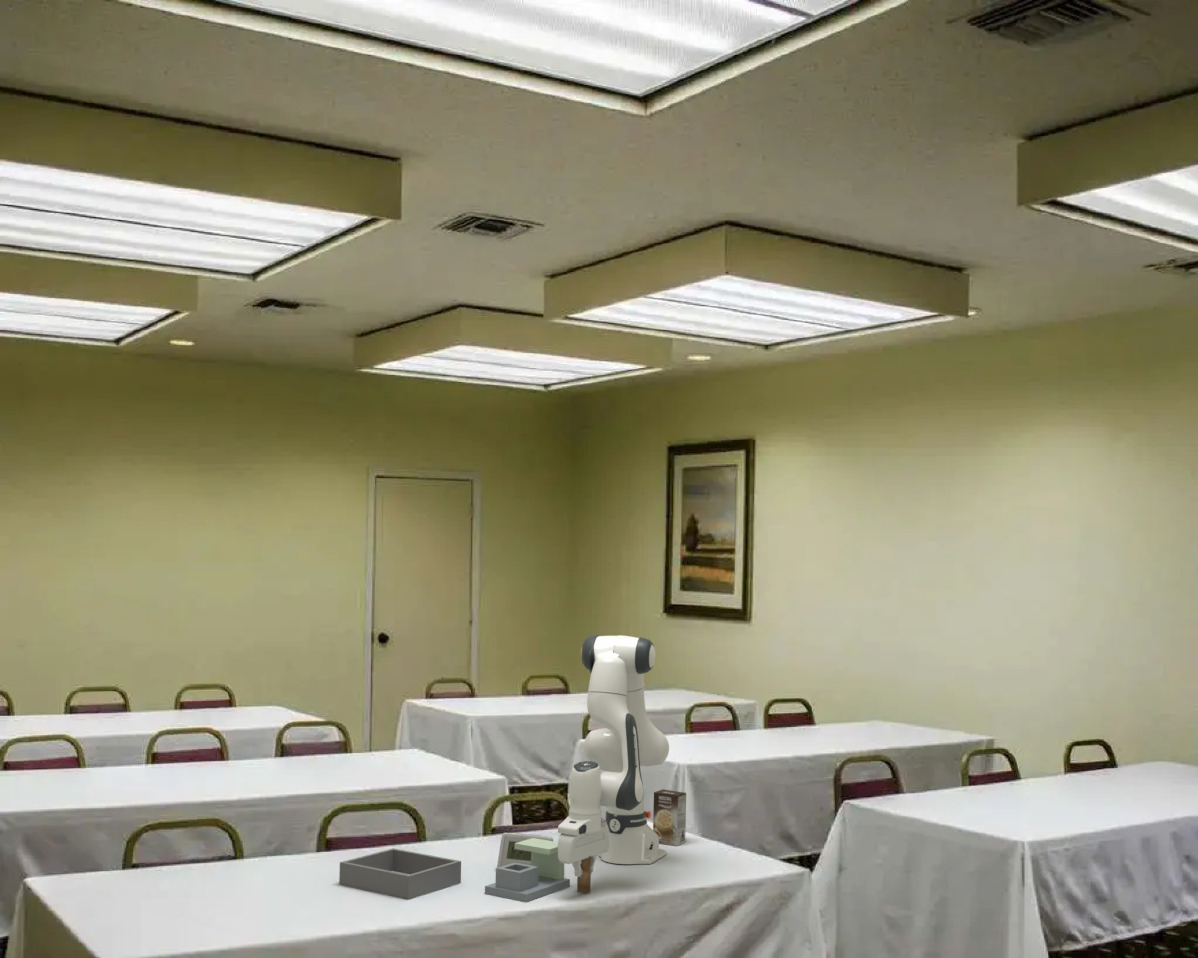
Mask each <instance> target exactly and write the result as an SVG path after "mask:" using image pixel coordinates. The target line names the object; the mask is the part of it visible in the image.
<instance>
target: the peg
mask: <svg viewBox="0 0 1198 958" xmlns="http://www.w3.org/2000/svg"><path fill="white" fill-rule="evenodd" d="M580 866H581V869H583V876H580V877H577V876H576V877H577V880H576V881H577V882H576V883H577V884H576V888H577V889H576V892H577V893H579V894H589V893H591V856H589V857H588V858H586V859H583V860H581V864H580Z"/></svg>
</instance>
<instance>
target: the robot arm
mask: <svg viewBox="0 0 1198 958" xmlns="http://www.w3.org/2000/svg"><path fill="white" fill-rule="evenodd" d="M655 649H656V648H655V644H654V643H653V642H652V640H651V639H649V638H645V637H641V636H640V637H636V636H631V635H630V636H629V635H624V634H623V635H621V634H618V635H598V634H597V635H595V634H594V635H590V636H587V638H586V639H584V641H583V643H582V646H581V649H580V656H581V657H580V658H581V662H582V665H583V667H584V668H585V669H586V670H588V671H589V673H590V678H589V683H588V689H587V697H586V698H587V700H586V702H587V703H586V708H587V712H588V715H589V717H590V718H591V719H592V720H593V721H594V722H595V723H597V724H598V725H600V726H601V727H603V728H598V729H594V730H593V729H592V730H591V731H590V732H588V734H587V735H586V737H585V739H584V742H583V743H584V745H583V750H584V754H585V756H586V758H587V759H588V760H583V761H579V762H576V763H575V764H573V766H572V769H571V772H570V779H569V791H568V793H569V796H568V797H569V800H570V805H569V809H568V810H569V811H568V816H567V817H566V818H565V819H564V820H563V821H562V822H561V823H559V825H558V826H557V833H559V836H558V839H557V842H558V859H559V861H560V862H561V863H564V865H571V864H572V867H573V869H574V876H575V877H580V876H583V869H581V866H580V864H581V860H583V859H586V858H588V857H589V856H591V873H593V872H594V866H595V863H596V861H597V856H598V857H600V860H602V861H604V862H605V863H611V864H617V865H639V864H641V865H650V864H653V863H655V862H657V861H658V860H660V859H662V858H663V857H664V856H666V855H667V854H668V853H667V850H665V849H662V848H660V843H659V838H658V835H657V834H656V833H655V832H654V831H653V828H651V826H649V824H648V820H647V819H650V818H651V817H652V812H651V811H650V810H649V811H647V810H644V809H645V806H644V805H645V804H644V803H645V788H644V782H643V779H642V778H643V777H642V773H641V771H642V770H641V767H652V766H657V765H662V764H663V763H665V761H666V760H667V758H668V755H669V752H670V744H669V741H668V738H667V736H666V735H665V734H664V733H663V732H662V731H660V730H659V729H658V728H657V727H656V726H655V725H654V724H653V722H652V721H651V719H650V718H649V716H648V713H647V711H646V702H645V679H644V678H645V677H644V676H645V675H644V674H647V673H649V672H650V671H651V670H652V669H653V667H654V664H655V662H656V656H657V654H656V650H655ZM601 807H605V808H606V811H605V816H604V817H605V819H604V818H603V817H602V809H601Z"/></svg>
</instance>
